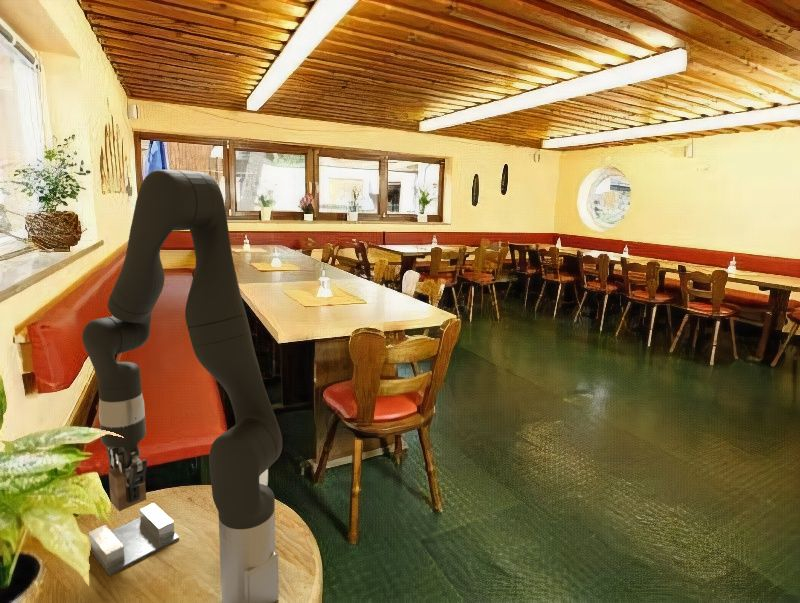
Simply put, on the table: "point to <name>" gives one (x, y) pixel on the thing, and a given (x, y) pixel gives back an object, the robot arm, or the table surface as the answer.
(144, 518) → the grey metal u-shaped piece
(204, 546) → the table surface
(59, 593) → the table surface
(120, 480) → the walnut wick block
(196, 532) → the table surface
